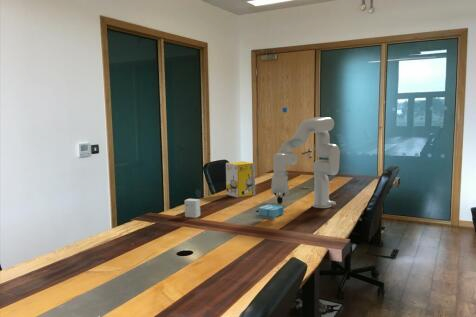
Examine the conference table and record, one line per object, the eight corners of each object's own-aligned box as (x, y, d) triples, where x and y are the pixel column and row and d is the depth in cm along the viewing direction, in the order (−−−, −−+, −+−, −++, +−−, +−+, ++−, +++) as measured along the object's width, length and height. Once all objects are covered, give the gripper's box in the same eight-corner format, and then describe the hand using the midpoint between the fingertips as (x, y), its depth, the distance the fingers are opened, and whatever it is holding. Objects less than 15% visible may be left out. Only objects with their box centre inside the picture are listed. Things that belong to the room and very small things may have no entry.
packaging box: (255, 195, 309) (255, 163, 306) (238, 197, 300) (237, 164, 297) (243, 191, 322) (242, 161, 319) (226, 194, 313) (225, 162, 310)
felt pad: (279, 213, 250) (279, 213, 250) (274, 219, 237) (274, 218, 237) (259, 212, 255) (259, 211, 255) (253, 217, 241) (253, 217, 241)
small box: (200, 215, 247) (200, 199, 246) (195, 218, 242) (195, 201, 241) (189, 214, 251) (189, 198, 250) (184, 216, 246) (184, 200, 245)
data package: (273, 210, 239) (257, 207, 246) (273, 217, 239) (257, 214, 247) (284, 206, 248) (268, 204, 256) (284, 213, 249) (268, 211, 256)
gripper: (293, 173, 241) (293, 203, 243) (269, 172, 246) (269, 201, 248) (290, 175, 234) (290, 205, 236) (266, 174, 239) (266, 204, 241)
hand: (279, 203), depth 242 cm, fingers closed
